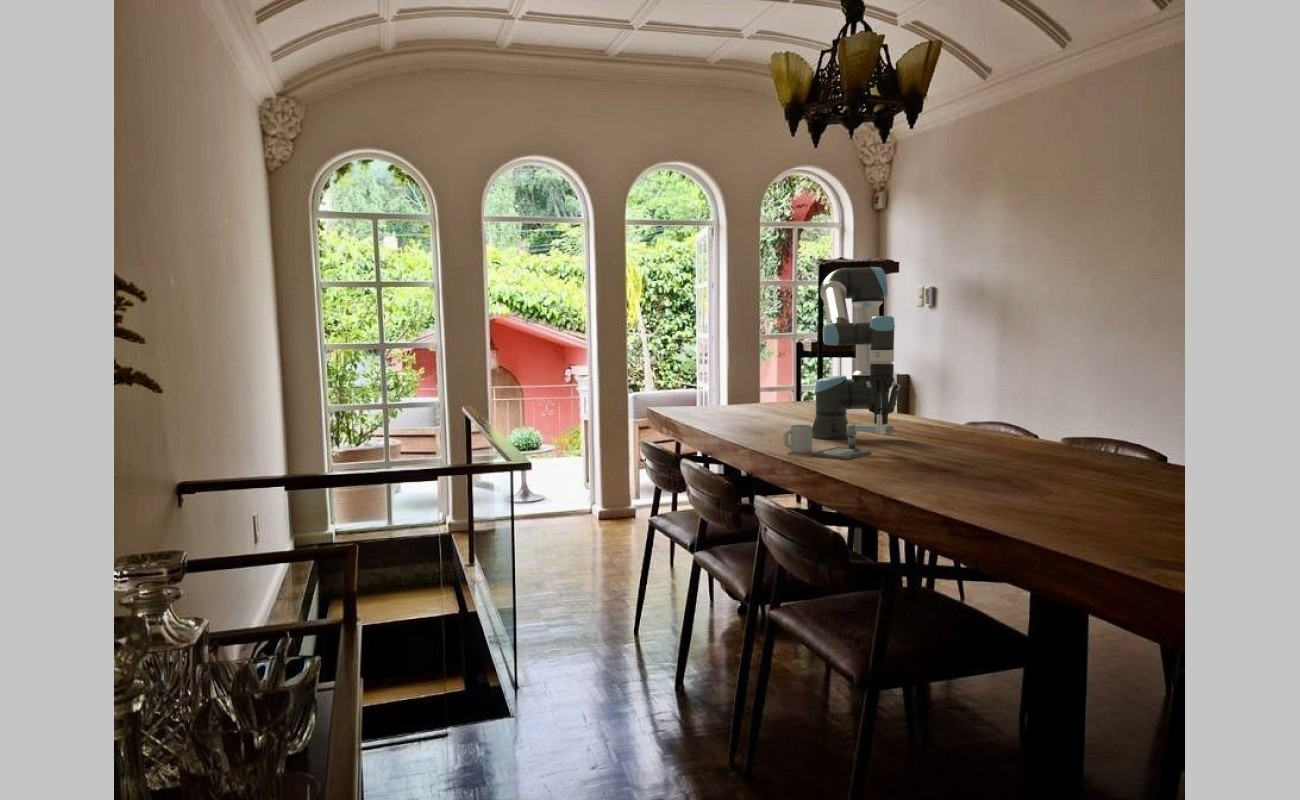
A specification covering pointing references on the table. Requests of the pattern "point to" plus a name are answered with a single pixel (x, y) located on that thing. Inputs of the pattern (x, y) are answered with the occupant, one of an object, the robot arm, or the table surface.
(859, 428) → the cable arm
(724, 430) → the table surface
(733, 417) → the table surface
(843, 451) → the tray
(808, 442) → the cup
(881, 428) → the robot arm
